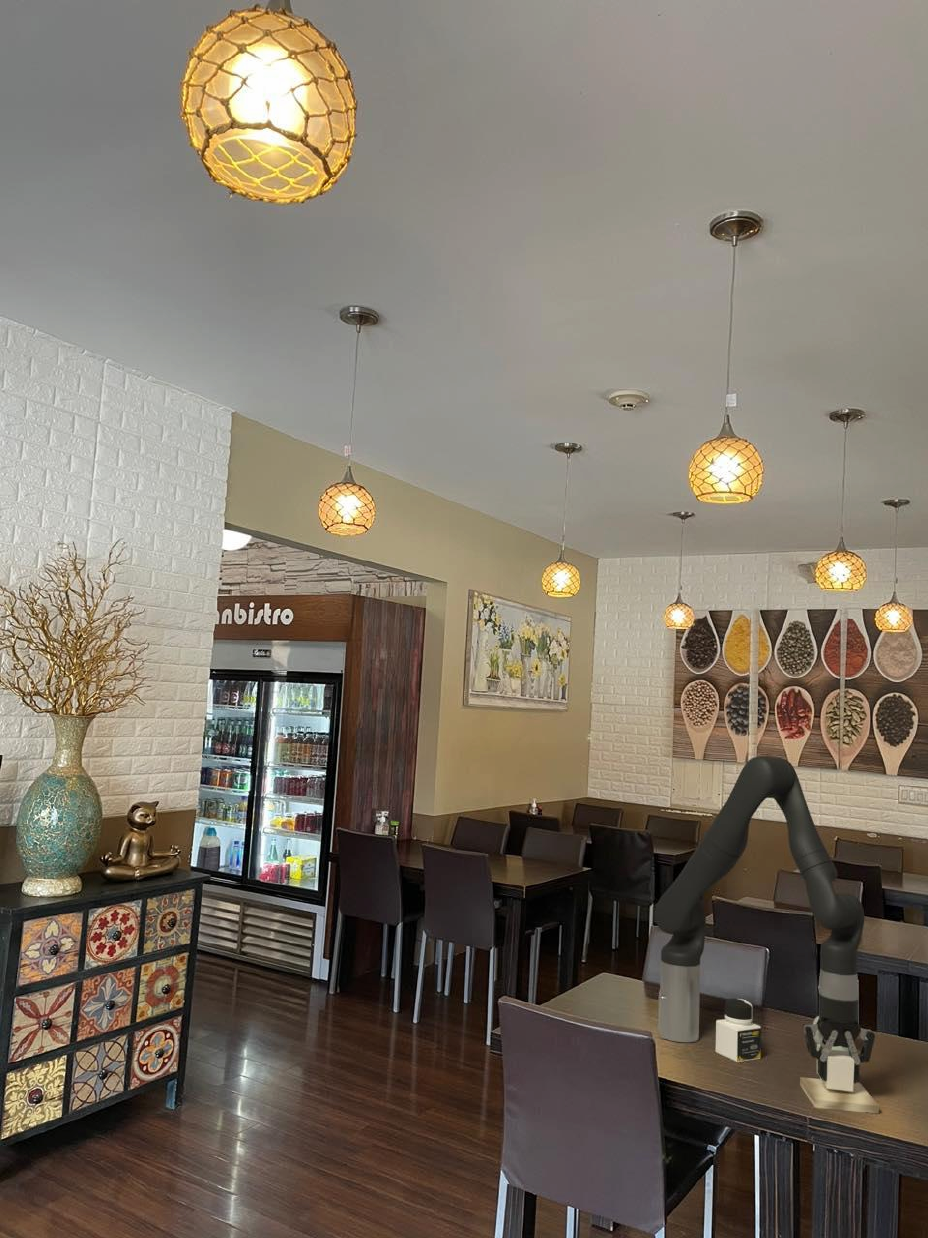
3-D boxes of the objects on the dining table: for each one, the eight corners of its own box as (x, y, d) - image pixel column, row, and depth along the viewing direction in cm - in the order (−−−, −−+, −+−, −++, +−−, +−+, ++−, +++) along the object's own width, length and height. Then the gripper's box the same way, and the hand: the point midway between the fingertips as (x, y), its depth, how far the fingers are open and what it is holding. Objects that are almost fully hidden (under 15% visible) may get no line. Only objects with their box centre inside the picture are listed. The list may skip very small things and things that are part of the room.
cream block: (827, 1088, 187) (828, 1058, 187) (820, 1078, 191) (821, 1048, 192) (852, 1091, 186) (854, 1061, 186) (845, 1081, 191) (846, 1051, 191)
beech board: (815, 1108, 182) (815, 1100, 182) (800, 1085, 194) (800, 1077, 194) (878, 1114, 181) (878, 1105, 181) (859, 1090, 193) (859, 1083, 193)
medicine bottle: (737, 1063, 205) (738, 1007, 207) (714, 1052, 212) (715, 998, 213) (761, 1059, 209) (762, 1004, 210) (738, 1049, 215) (739, 995, 216)
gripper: (807, 996, 187) (806, 1084, 185) (881, 1002, 185) (881, 1091, 183) (797, 986, 194) (797, 1071, 192) (869, 991, 193) (869, 1077, 191)
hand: (838, 1080), depth 188 cm, fingers closed on cream block, 5 cm apart
